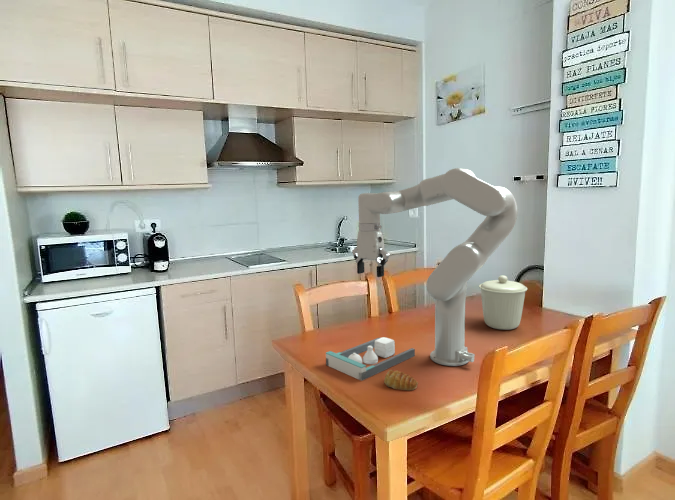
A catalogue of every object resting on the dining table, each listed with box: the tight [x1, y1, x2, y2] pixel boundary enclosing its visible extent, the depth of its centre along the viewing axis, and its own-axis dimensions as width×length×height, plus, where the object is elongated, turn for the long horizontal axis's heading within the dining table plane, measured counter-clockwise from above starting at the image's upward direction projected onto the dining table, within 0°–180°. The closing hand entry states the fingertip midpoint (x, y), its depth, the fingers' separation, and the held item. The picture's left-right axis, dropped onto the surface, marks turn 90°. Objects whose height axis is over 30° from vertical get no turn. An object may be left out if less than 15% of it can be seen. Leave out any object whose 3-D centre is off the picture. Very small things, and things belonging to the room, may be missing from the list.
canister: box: [478, 275, 528, 331], centre depth 167 cm, size 18×18×21 cm
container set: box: [348, 336, 396, 365], centre depth 137 cm, size 20×5×6 cm, turn 133°
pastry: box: [383, 369, 419, 391], centre depth 120 cm, size 9×7×4 cm
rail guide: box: [325, 337, 416, 381], centre depth 138 cm, size 16×26×4 cm, turn 132°
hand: (370, 274), depth 149 cm, fingers open, 9 cm apart
